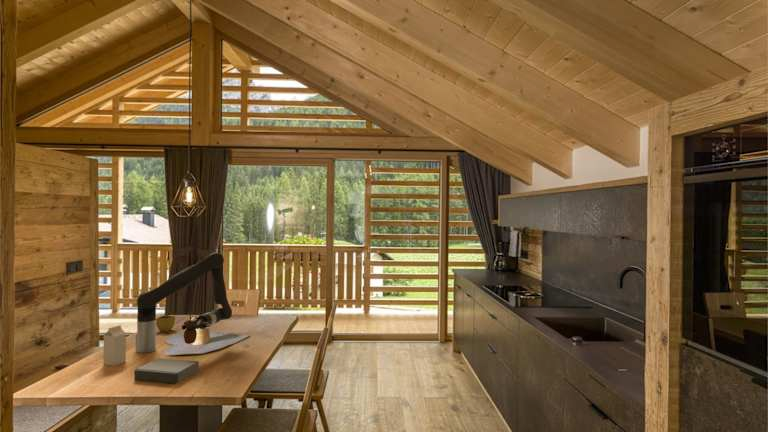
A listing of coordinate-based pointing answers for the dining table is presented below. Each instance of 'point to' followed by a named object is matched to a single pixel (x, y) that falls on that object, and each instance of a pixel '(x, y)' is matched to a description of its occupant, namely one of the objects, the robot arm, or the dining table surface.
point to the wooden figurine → (190, 332)
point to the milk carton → (115, 346)
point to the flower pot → (165, 323)
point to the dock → (166, 370)
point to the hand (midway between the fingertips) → (187, 327)
